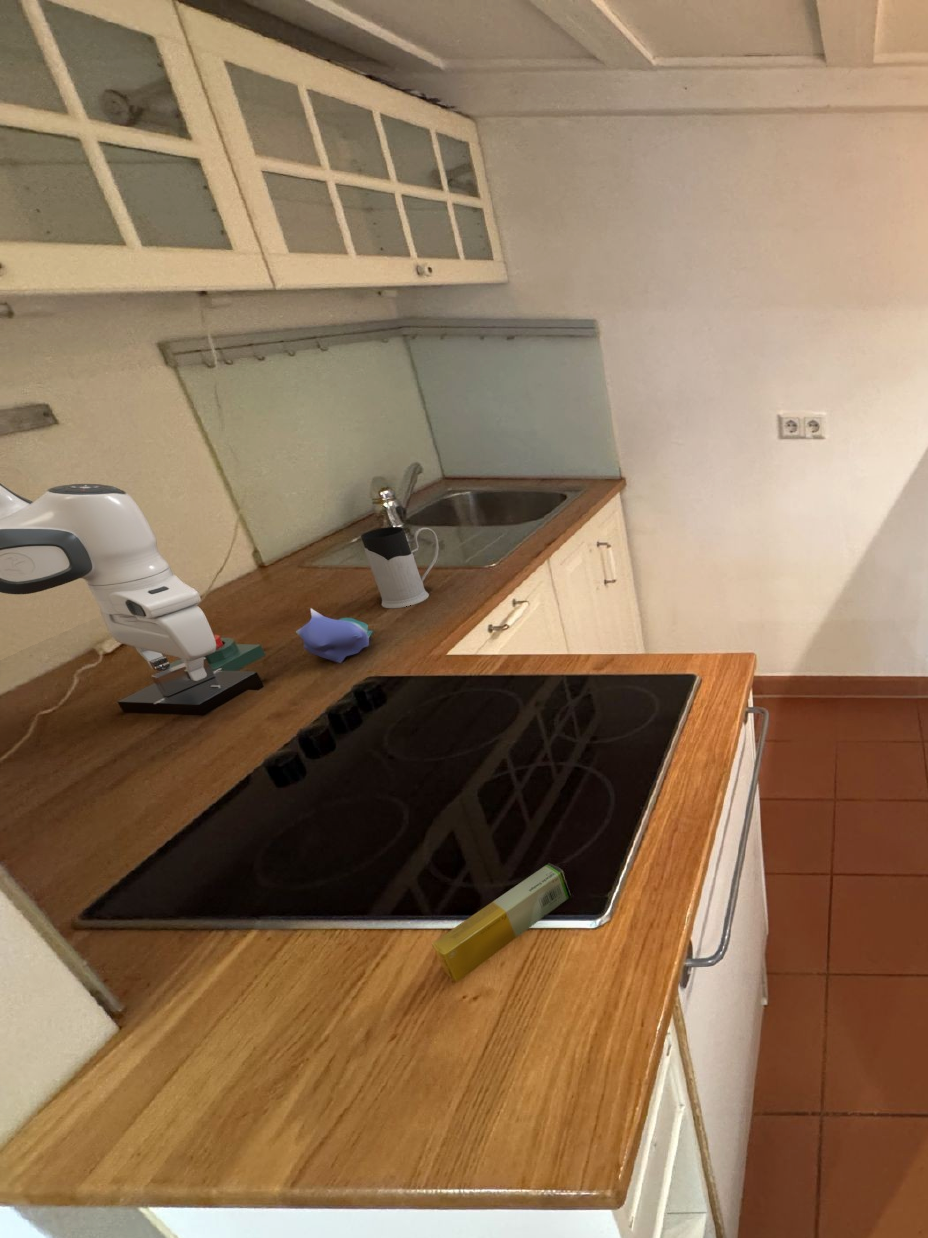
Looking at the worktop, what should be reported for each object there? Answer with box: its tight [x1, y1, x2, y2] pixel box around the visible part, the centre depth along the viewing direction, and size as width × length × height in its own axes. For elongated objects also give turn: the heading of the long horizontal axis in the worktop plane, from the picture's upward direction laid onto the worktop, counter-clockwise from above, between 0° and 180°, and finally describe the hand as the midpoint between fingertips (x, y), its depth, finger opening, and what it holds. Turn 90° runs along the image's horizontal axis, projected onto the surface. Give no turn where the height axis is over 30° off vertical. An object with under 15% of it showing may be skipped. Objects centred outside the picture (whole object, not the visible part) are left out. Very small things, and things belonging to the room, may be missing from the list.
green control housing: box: [162, 637, 266, 671], centre depth 118 cm, size 10×9×4 cm
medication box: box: [431, 862, 571, 983], centre depth 65 cm, size 12×3×4 cm, turn 144°
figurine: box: [295, 608, 374, 664], centre depth 120 cm, size 13×12×9 cm
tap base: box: [117, 668, 265, 717], centre depth 108 cm, size 14×11×3 cm
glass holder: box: [360, 526, 440, 609], centre depth 143 cm, size 9×14×15 cm, turn 146°
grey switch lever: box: [151, 658, 215, 697], centre depth 106 cm, size 6×2×4 cm, turn 159°
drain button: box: [213, 634, 223, 649], centre depth 117 cm, size 4×4×2 cm
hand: (179, 673), depth 106 cm, fingers open, 8 cm apart
